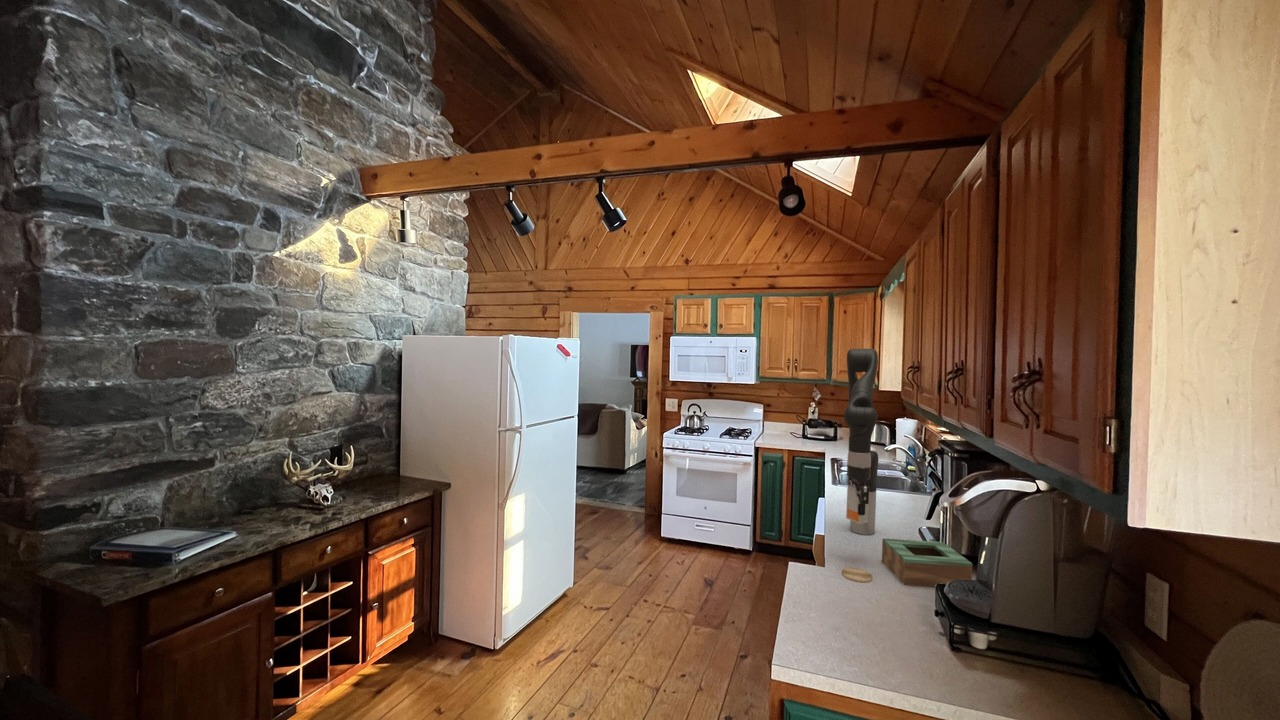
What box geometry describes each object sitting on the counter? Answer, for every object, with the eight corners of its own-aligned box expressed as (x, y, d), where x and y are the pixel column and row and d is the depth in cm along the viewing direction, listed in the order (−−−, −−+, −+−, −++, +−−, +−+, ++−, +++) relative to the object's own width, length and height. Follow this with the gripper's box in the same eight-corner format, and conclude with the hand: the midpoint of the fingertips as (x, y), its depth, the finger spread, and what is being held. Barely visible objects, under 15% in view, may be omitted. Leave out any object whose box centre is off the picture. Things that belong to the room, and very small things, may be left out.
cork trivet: (838, 569, 169) (838, 566, 169) (866, 571, 168) (866, 568, 168) (847, 581, 160) (847, 578, 160) (876, 583, 159) (876, 580, 159)
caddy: (881, 561, 177) (882, 538, 177) (941, 565, 175) (942, 542, 175) (904, 584, 159) (905, 559, 159) (971, 589, 157) (972, 563, 157)
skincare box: (845, 518, 179) (846, 485, 179) (854, 517, 181) (855, 483, 181) (859, 524, 174) (860, 489, 174) (868, 522, 176) (869, 488, 175)
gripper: (841, 459, 184) (839, 504, 185) (854, 468, 170) (853, 517, 171) (862, 459, 184) (861, 505, 184) (878, 469, 170) (876, 518, 170)
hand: (857, 511), depth 177 cm, fingers closed on skincare box, 7 cm apart
